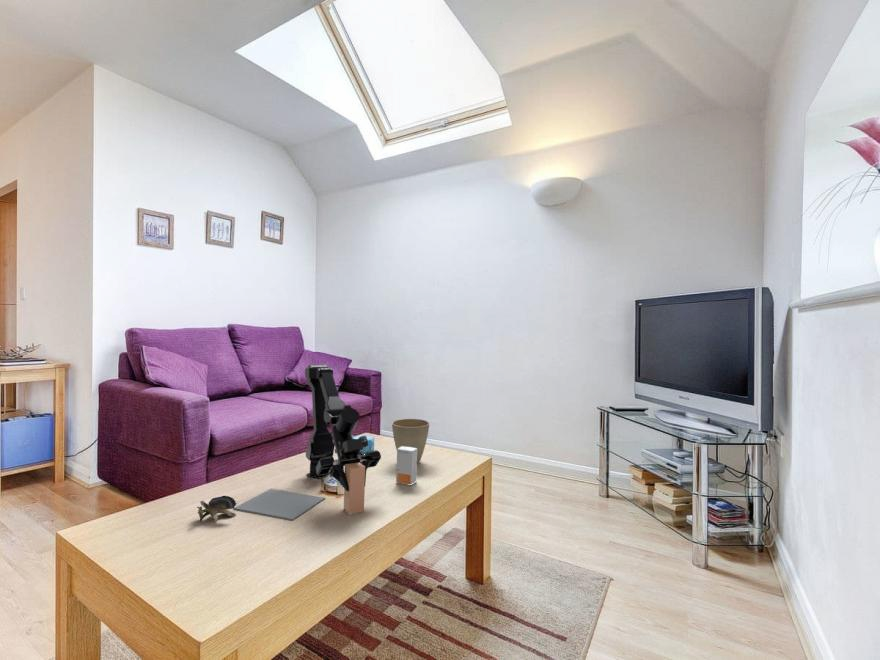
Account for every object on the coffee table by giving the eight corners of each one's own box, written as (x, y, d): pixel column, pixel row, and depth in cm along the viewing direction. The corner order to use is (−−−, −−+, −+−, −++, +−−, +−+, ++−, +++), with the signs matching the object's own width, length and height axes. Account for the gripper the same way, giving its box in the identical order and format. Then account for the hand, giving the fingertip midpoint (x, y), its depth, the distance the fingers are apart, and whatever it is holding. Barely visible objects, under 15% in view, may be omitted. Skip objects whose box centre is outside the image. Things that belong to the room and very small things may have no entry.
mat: (270, 489, 140) (270, 488, 140) (325, 498, 134) (325, 497, 134) (233, 509, 124) (233, 507, 124) (292, 520, 118) (292, 519, 118)
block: (343, 508, 127) (344, 464, 127) (358, 505, 129) (359, 462, 129) (349, 514, 123) (350, 468, 123) (363, 511, 125) (365, 466, 125)
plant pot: (393, 456, 179) (394, 418, 179) (429, 457, 179) (430, 419, 178) (388, 468, 164) (389, 426, 164) (427, 469, 164) (428, 427, 164)
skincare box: (395, 483, 148) (396, 448, 148) (401, 479, 152) (402, 445, 152) (411, 486, 146) (412, 451, 146) (416, 482, 150) (417, 447, 150)
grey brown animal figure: (201, 525, 112) (238, 511, 117) (195, 498, 114) (232, 486, 119) (201, 531, 117) (237, 517, 122) (195, 505, 120) (230, 492, 125)
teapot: (345, 452, 183) (345, 434, 183) (353, 448, 189) (354, 431, 189) (368, 456, 178) (369, 438, 178) (377, 453, 183) (377, 435, 183)
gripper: (319, 430, 124) (331, 480, 115) (379, 424, 134) (394, 470, 125) (311, 450, 131) (321, 500, 122) (368, 443, 141) (382, 488, 132)
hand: (356, 489), depth 125 cm, fingers open, 5 cm apart
